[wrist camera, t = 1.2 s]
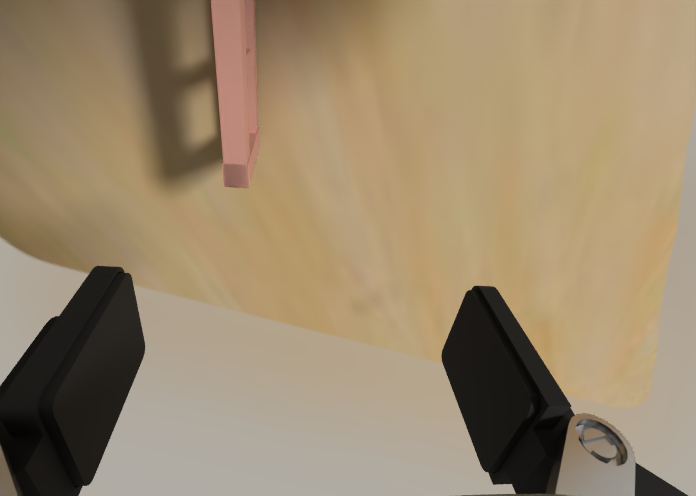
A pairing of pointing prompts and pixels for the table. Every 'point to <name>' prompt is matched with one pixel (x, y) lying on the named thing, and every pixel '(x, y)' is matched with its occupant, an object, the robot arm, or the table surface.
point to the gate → (236, 88)
